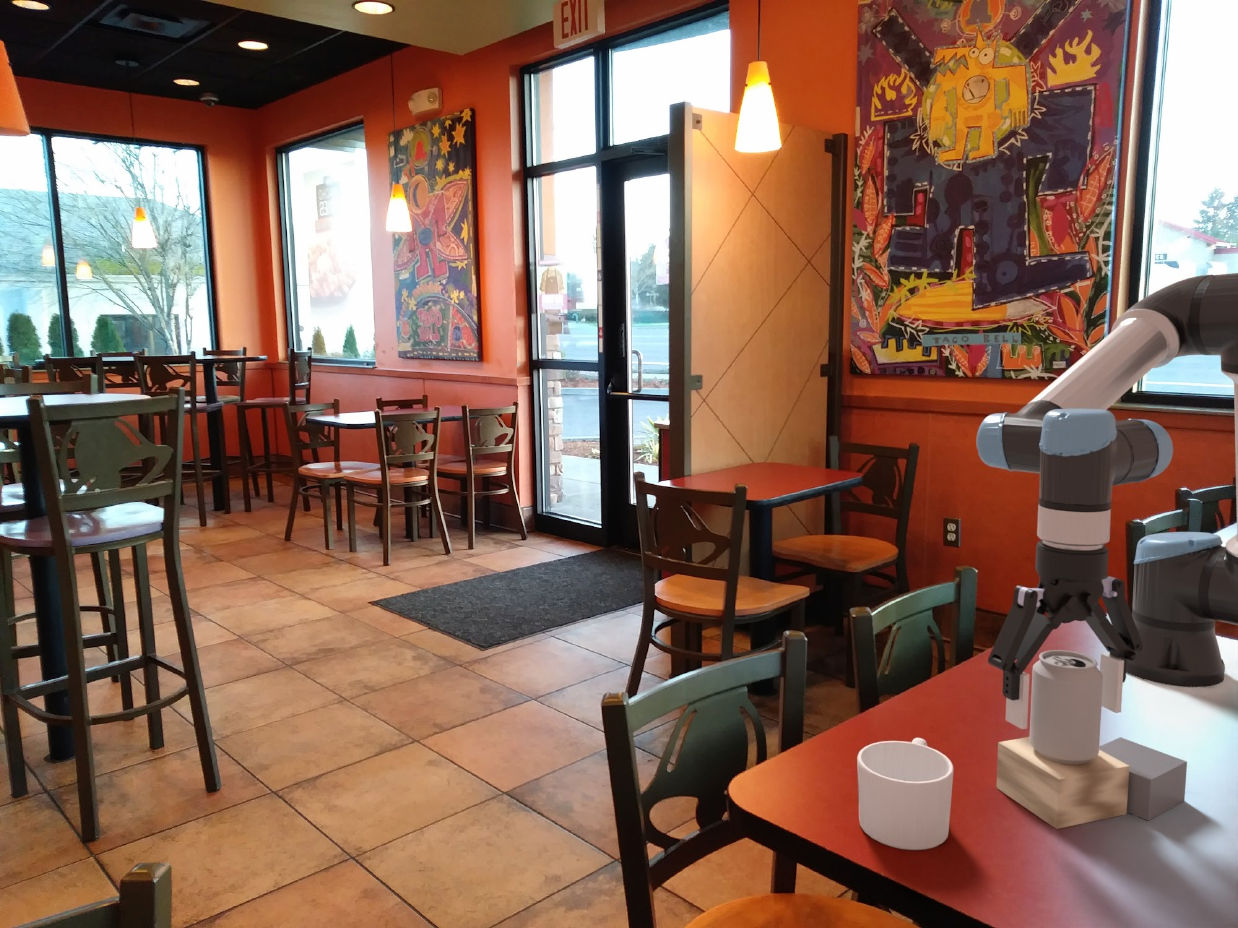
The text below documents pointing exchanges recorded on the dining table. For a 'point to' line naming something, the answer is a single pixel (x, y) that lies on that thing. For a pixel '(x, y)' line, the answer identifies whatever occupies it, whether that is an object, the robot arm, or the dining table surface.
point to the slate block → (1149, 777)
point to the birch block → (1062, 784)
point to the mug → (904, 794)
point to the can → (1066, 707)
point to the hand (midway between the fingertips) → (1063, 716)
